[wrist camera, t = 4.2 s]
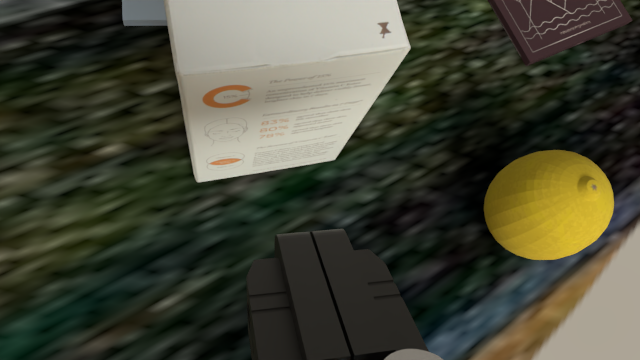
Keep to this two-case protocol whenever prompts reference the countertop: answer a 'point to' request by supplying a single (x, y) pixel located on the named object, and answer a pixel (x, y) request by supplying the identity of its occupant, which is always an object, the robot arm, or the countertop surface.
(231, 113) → the small box
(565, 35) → the chocolate bar
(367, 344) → the robot arm
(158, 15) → the flat blue-gray panel
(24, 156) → the countertop surface
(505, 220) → the lemon
